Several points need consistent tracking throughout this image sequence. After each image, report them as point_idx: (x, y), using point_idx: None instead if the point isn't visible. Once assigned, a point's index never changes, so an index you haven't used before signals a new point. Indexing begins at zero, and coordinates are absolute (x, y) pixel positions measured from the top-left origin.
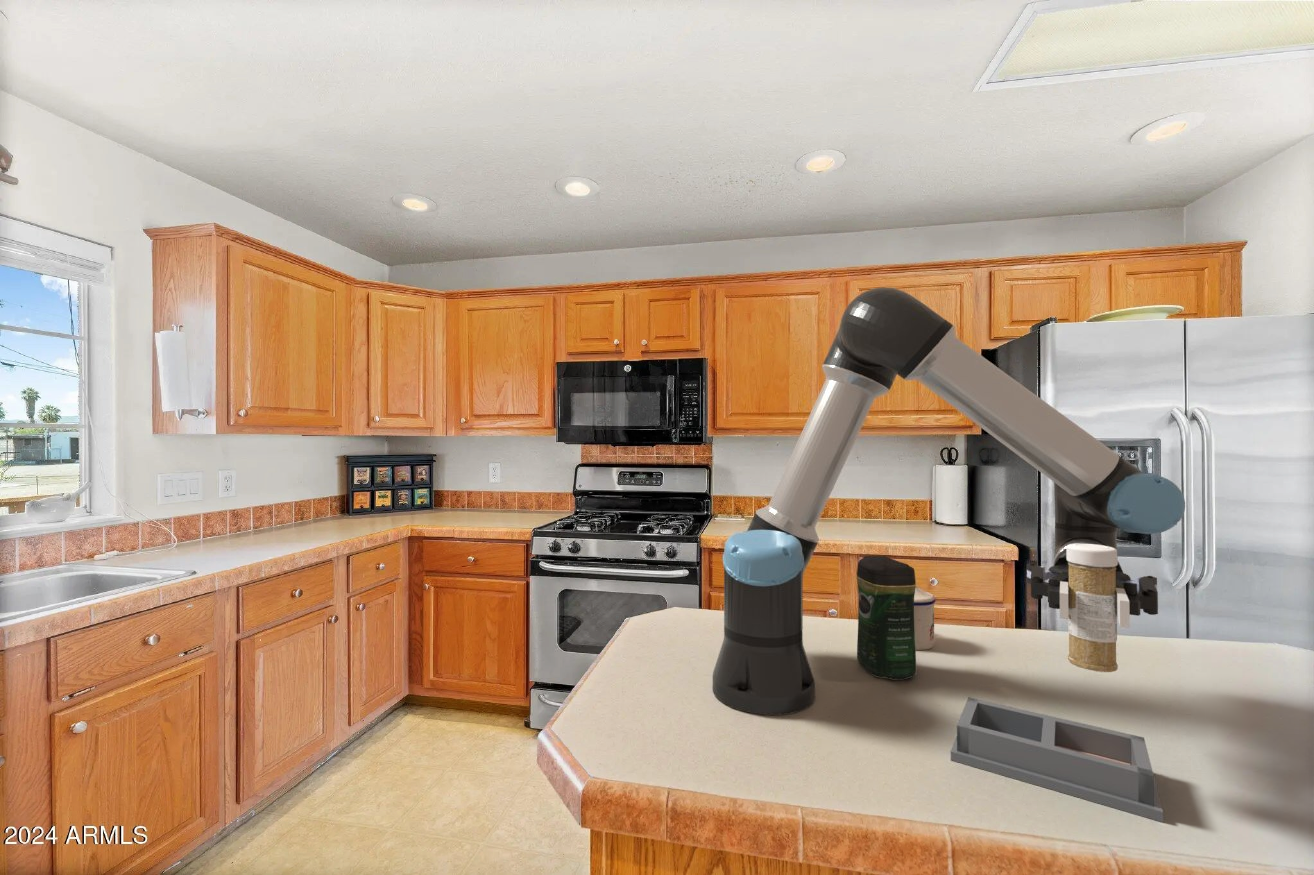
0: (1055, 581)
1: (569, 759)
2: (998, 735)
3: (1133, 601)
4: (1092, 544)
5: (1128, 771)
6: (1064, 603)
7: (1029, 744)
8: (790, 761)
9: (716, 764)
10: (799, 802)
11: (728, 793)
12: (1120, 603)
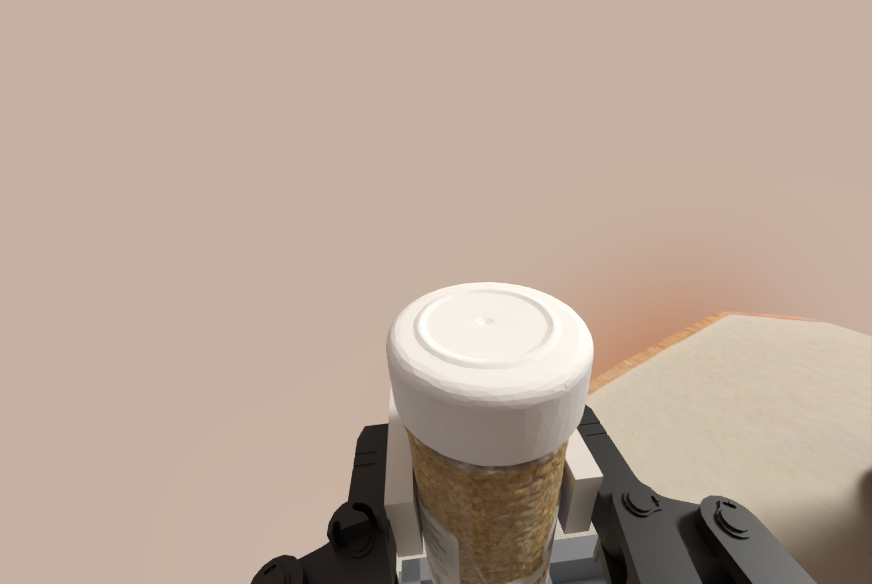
0: (626, 490)
1: (762, 314)
2: (597, 537)
3: (375, 427)
4: (493, 361)
5: None
6: None
7: (553, 540)
8: (711, 407)
9: (724, 365)
10: (638, 369)
11: (672, 349)
12: None
